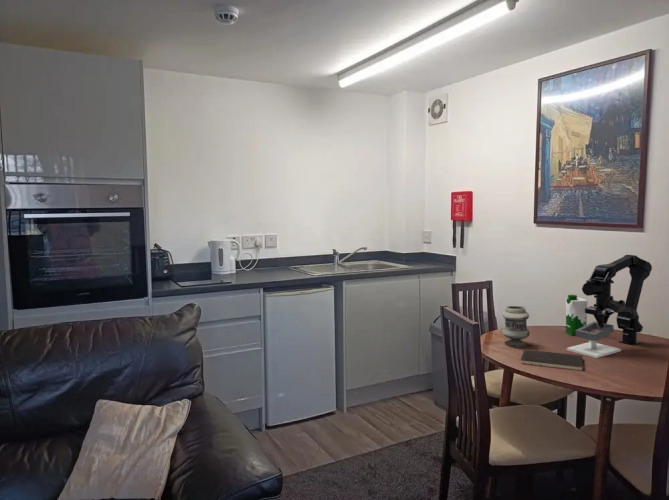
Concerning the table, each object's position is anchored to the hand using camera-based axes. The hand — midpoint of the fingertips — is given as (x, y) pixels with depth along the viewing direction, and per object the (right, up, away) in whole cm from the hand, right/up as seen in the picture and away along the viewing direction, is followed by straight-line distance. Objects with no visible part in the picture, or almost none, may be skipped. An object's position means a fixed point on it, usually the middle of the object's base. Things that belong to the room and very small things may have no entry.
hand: (602, 327), depth 213 cm
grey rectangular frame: (-5, -3, -3) cm, 6 cm away
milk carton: (+1, -8, +25) cm, 26 cm away
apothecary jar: (-35, -10, +11) cm, 38 cm away
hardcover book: (-30, -13, -15) cm, 36 cm away
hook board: (-5, -10, -2) cm, 12 cm away
